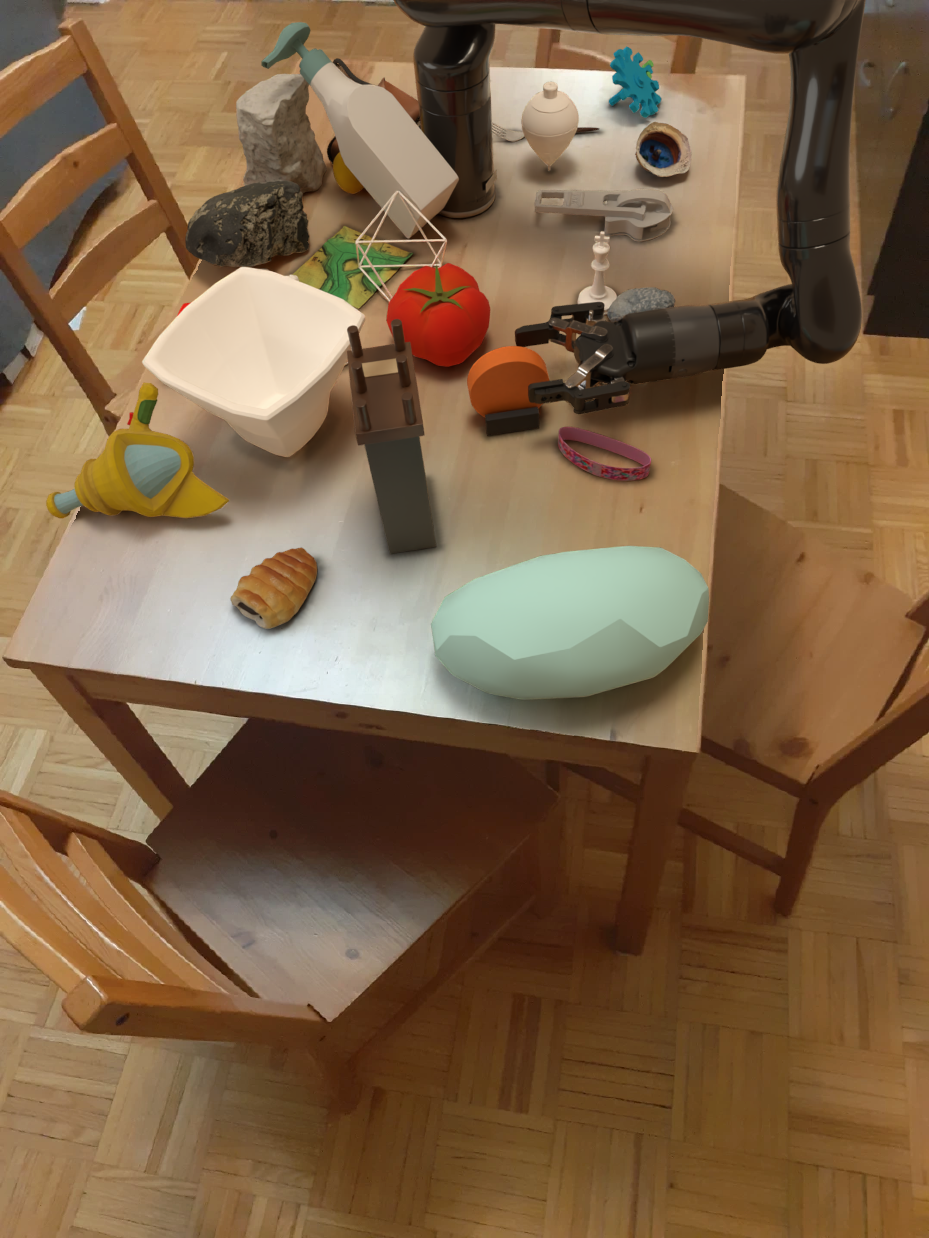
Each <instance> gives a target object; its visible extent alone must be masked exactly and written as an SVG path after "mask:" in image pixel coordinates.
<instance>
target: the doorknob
mask: <svg viewBox="0 0 929 1238" xmlns="http://www.w3.org/2000/svg"><path fill="white" fill-rule="evenodd" d="M332 172H333V177H334V180H335V182H336V184H337V185H338V187H339V188H340V189H341V190H342V191H344V192H345V193H347V194H352V195H354V194H358V193H359V192H361V191H362V190H363V189H365V187H364V186H363V185H362V184H361V183H360V181H359V180H358V179H357V178H356V177H355V175H354V174H353V173H352V172H351V171H350V169H349V168H348V167H347V166H346V165H345V163H344V161H343V158H342V156H341V154H340V152H339V153H338V154H337V155H336V157H335V159H334V162H333V164H332Z"/></svg>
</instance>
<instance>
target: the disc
mask: <svg viewBox="0 0 929 1238" xmlns="http://www.w3.org/2000/svg"><path fill="white" fill-rule="evenodd" d="M545 381H551V380H550V376H549V372H548V368H547V364H546V362H545V360H544V359H543V357H542V356H541V355H540V354H539V353H538V352H536V351H535V350H533V349H532V348H528V347H520V346H516V345H509V346H508V345H507V346H502V347H498V348H495V349H492V350H490V351H488V352H486V353H484V354H483V355H482V356H480V357H479V358H478V359H476V361H475V362H474V363H473V364H472V366H471V368H470V370H469V371H468V374H467V378H466V384H467V390H468V396H469V400H470V403H471V407H473V409H474V411H475V412H476V413H478V414H479V415H480V416H482V417H483V418H485V415H486V414H492V413H499V412H506V411H513V410H519V409H526V408H533V407H538V409H540V408H541V406H542V405H543V404H536V403H531V402H530V401H529V398H528V386H529V385H530V384H532V383H538V382H545Z"/></svg>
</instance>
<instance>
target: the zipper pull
mask: <svg viewBox="0 0 929 1238" xmlns="http://www.w3.org/2000/svg"><path fill="white" fill-rule="evenodd" d="M543 199H563V200H562V204H545V203H542V200H543ZM604 203H606V204H604ZM673 211H674V207H673V204H672V202H671V200H670V198H669V196H668V194H667V193H666V192H664V191H662V190H659V189H653V188H636V189H630V190H607V189H606V190H605V189H601V190H599V189H598V190H597V189H596V190H595V189H538V190H536V193H535V198H534V212H535V213H538V214H540V213H541V214H555V215H574V216H591V217H593V216H594V217H604V218H605V219H604V229H603V232H605V233H604V236H606V237H613V236H626V237H629V238H630V239H632V240H633V241H635V242H636V243H638V242H639V243H641V242H647V241H650V240H653V239H656V238H658V237H660V236H662V235H663V234H665V233H666V232H667V231H668V230H669V229H670V227H671V225H672V220H671V215H672V213H673Z"/></svg>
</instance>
